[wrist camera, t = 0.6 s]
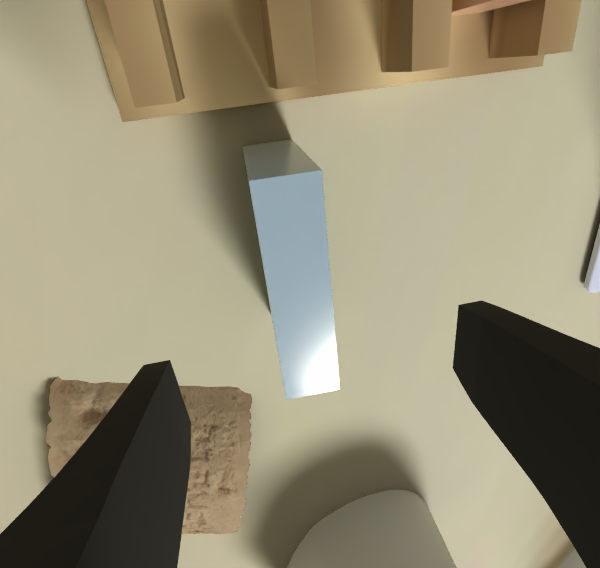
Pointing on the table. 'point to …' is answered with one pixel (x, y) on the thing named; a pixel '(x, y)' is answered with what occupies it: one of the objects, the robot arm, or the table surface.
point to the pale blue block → (295, 263)
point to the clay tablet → (204, 444)
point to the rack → (308, 47)
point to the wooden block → (479, 5)
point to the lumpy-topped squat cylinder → (375, 536)
